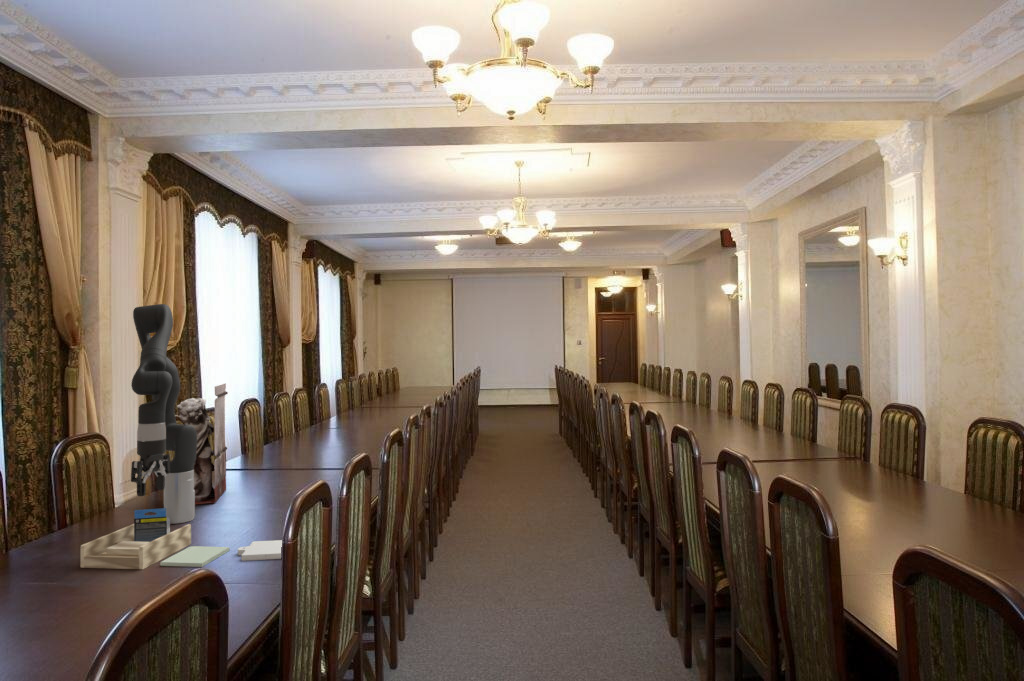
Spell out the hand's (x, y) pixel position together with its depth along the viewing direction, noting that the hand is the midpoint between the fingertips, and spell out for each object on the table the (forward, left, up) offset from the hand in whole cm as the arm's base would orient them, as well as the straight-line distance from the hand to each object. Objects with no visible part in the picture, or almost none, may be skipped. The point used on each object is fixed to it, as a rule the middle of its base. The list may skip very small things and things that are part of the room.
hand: (151, 492), depth 190 cm
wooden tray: (+6, 0, -17) cm, 18 cm away
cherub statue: (-61, -23, -17) cm, 67 cm away
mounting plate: (0, +37, -17) cm, 41 cm away
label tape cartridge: (0, 0, -17) cm, 17 cm away
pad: (+7, +18, -17) cm, 26 cm away
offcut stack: (+10, 0, -17) cm, 20 cm away
